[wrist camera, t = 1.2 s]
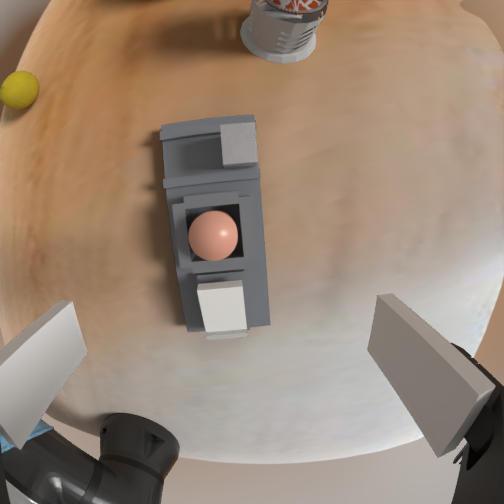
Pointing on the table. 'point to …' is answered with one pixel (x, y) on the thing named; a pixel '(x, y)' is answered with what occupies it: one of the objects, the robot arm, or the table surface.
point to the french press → (282, 29)
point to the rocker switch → (223, 309)
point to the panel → (214, 198)
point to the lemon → (19, 90)
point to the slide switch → (239, 145)
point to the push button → (213, 235)
